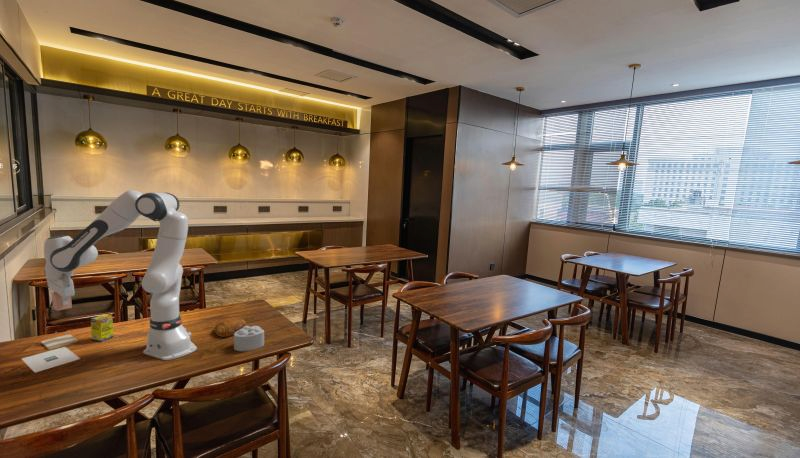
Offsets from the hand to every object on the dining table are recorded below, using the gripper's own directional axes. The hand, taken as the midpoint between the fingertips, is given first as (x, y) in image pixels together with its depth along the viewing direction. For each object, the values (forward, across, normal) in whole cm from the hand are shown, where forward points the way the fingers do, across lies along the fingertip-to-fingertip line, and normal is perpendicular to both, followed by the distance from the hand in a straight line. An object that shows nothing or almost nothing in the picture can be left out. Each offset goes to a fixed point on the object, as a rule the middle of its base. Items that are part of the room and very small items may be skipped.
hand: (62, 302), depth 160 cm
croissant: (+22, -39, -55) cm, 70 cm away
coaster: (+21, +8, 0) cm, 23 cm away
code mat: (+21, -8, +7) cm, 24 cm away
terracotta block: (+2, 0, 0) cm, 2 cm away
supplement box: (+21, -2, -13) cm, 25 cm away
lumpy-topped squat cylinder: (+21, -60, -50) cm, 81 cm away
